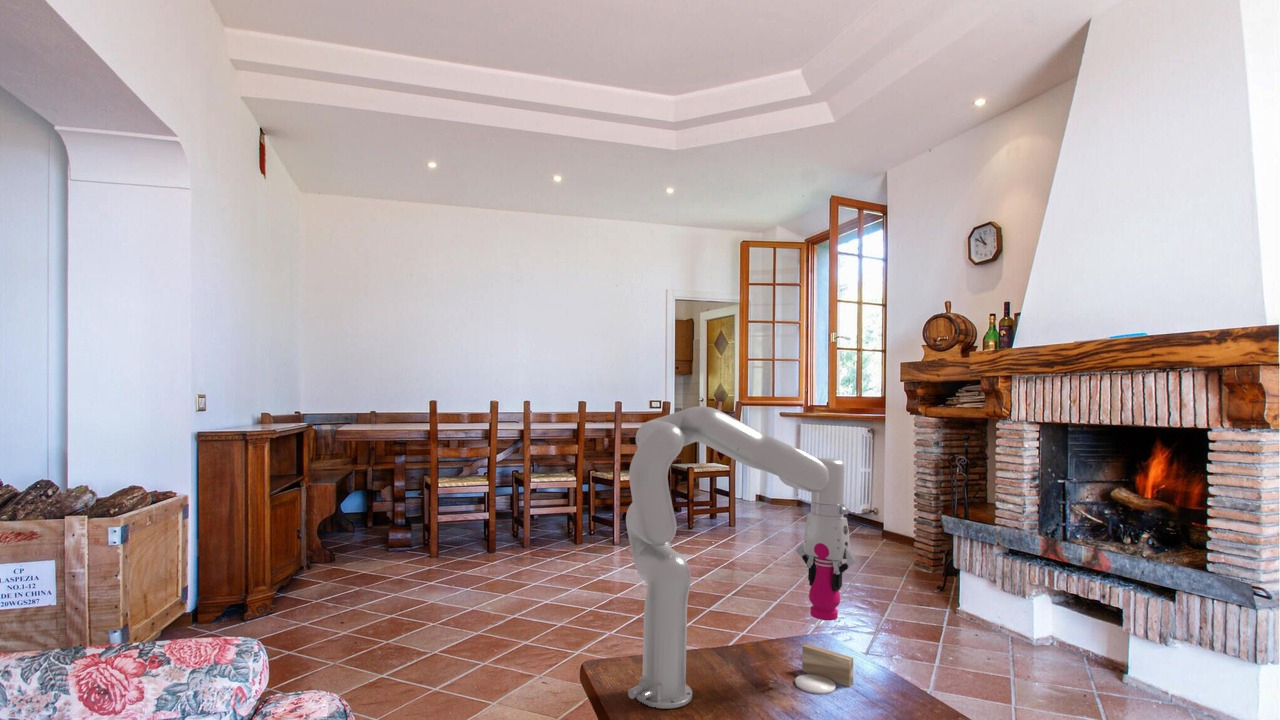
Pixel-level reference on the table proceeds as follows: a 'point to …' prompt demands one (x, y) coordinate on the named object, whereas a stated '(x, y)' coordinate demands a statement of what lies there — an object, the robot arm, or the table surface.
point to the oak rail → (827, 664)
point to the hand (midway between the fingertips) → (824, 586)
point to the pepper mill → (823, 587)
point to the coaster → (815, 684)
